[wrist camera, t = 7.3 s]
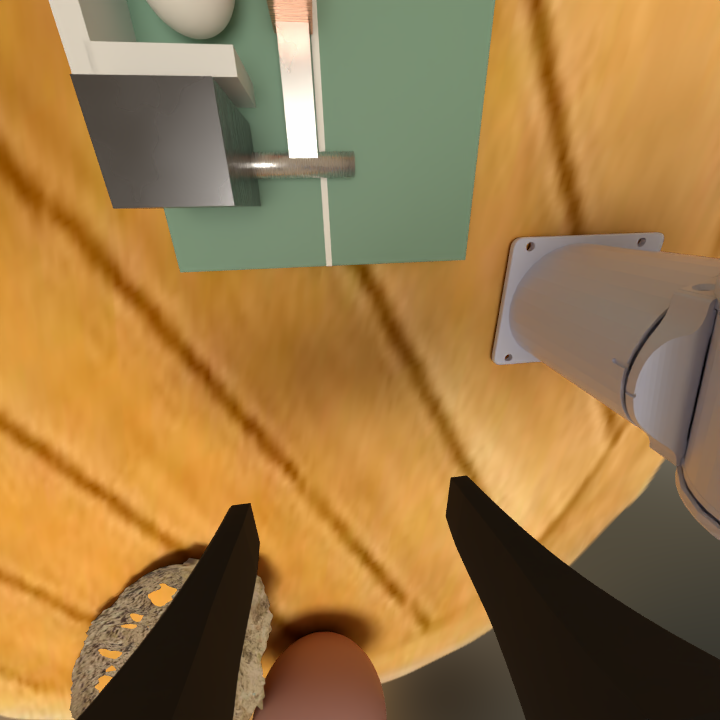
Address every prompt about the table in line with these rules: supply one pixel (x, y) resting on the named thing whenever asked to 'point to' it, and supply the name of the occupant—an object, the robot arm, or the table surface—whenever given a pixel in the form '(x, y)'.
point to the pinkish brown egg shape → (322, 682)
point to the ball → (194, 16)
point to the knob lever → (204, 131)
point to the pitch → (352, 136)
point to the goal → (141, 49)
